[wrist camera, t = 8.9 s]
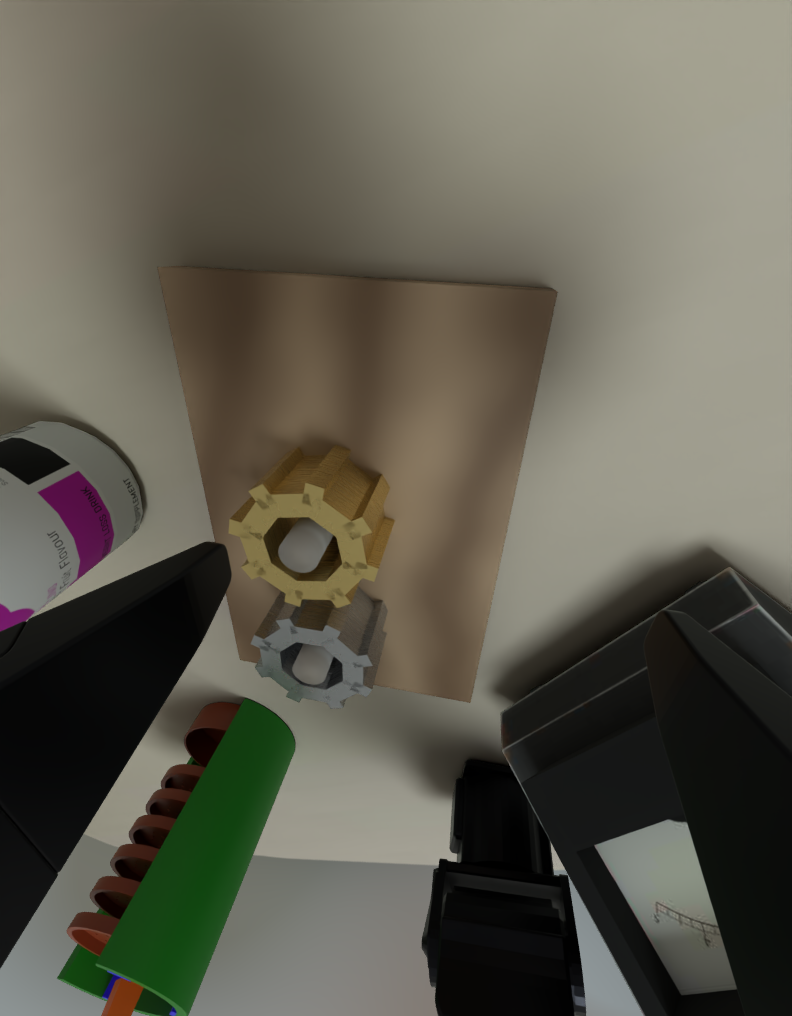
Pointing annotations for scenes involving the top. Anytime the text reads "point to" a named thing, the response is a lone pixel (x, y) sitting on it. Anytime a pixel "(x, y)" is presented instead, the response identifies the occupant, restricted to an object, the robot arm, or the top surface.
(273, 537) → the brass gear
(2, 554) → the supplement can
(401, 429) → the board
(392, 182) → the top surface
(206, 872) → the motor
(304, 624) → the steel gear
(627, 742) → the voltmeter
